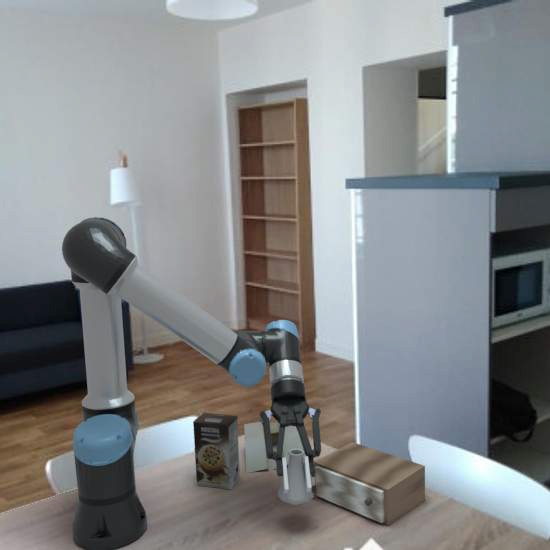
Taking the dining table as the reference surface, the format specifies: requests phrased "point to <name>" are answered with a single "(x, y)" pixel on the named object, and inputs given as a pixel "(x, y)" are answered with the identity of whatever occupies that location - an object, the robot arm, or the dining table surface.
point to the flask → (295, 480)
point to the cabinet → (370, 482)
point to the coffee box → (216, 450)
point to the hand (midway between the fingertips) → (297, 490)
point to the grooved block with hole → (257, 447)
